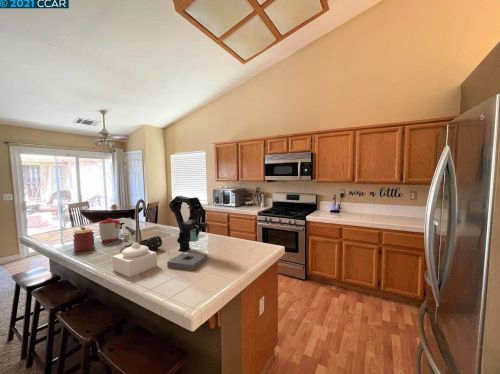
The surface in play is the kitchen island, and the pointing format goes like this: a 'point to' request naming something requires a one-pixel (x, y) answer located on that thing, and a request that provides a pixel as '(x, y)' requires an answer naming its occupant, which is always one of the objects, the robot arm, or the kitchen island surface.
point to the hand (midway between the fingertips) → (194, 236)
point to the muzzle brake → (147, 243)
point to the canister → (83, 240)
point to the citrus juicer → (109, 230)
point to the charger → (193, 235)
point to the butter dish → (134, 260)
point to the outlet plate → (187, 261)
